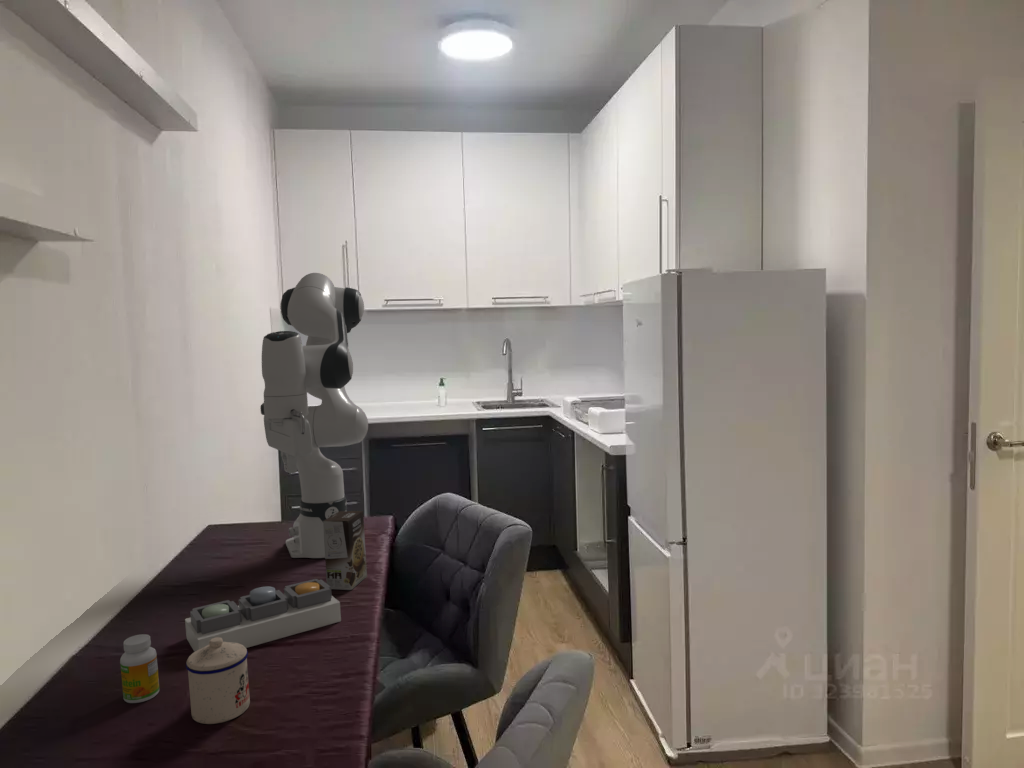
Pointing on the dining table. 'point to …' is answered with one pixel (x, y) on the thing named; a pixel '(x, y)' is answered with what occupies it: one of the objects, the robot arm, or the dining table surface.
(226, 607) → the sage button
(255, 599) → the slate button
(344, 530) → the coffee box
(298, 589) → the orange button
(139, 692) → the supplement bottle
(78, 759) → the dining table surface
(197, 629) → the button console
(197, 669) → the teacup with lid
